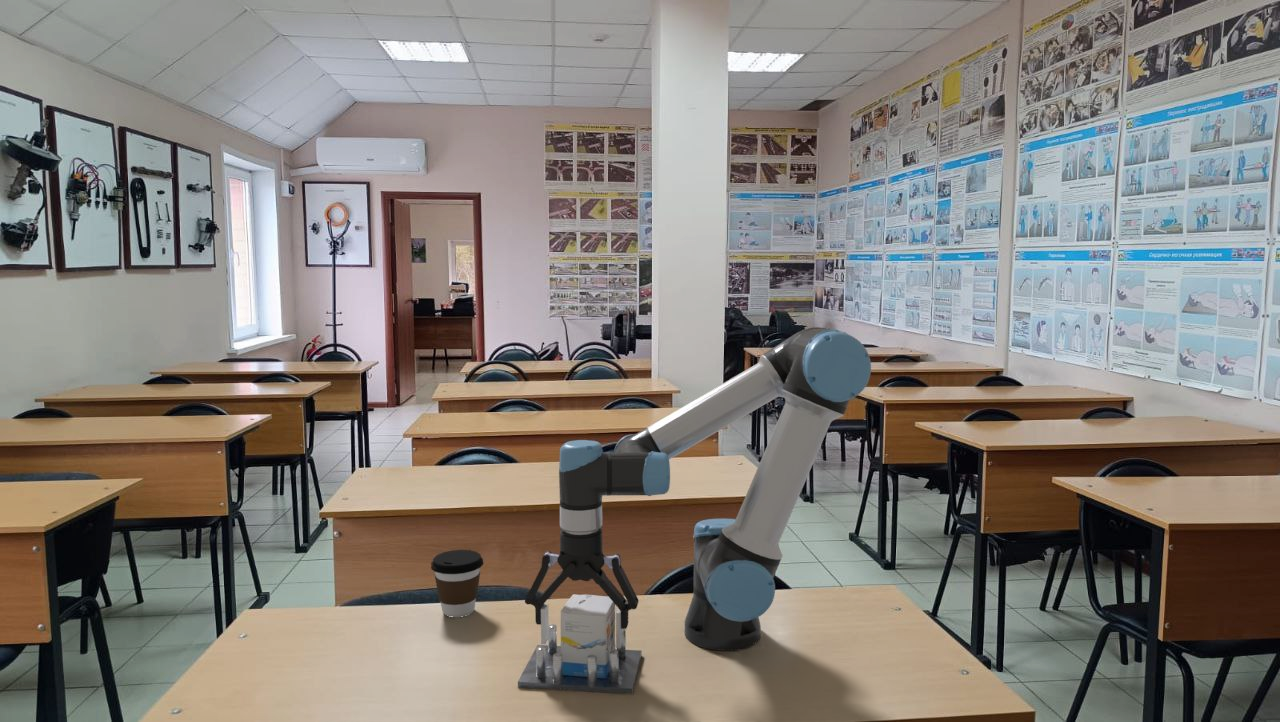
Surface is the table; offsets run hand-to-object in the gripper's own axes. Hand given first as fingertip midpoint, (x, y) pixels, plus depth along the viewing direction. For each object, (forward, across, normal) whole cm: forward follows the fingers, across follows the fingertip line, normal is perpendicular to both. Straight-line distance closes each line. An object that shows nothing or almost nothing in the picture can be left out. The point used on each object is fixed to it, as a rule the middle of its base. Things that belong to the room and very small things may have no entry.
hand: (582, 643), depth 141 cm
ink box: (+4, -1, 0) cm, 5 cm away
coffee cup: (+5, +31, -22) cm, 38 cm away
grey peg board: (+5, 0, 0) cm, 5 cm away
